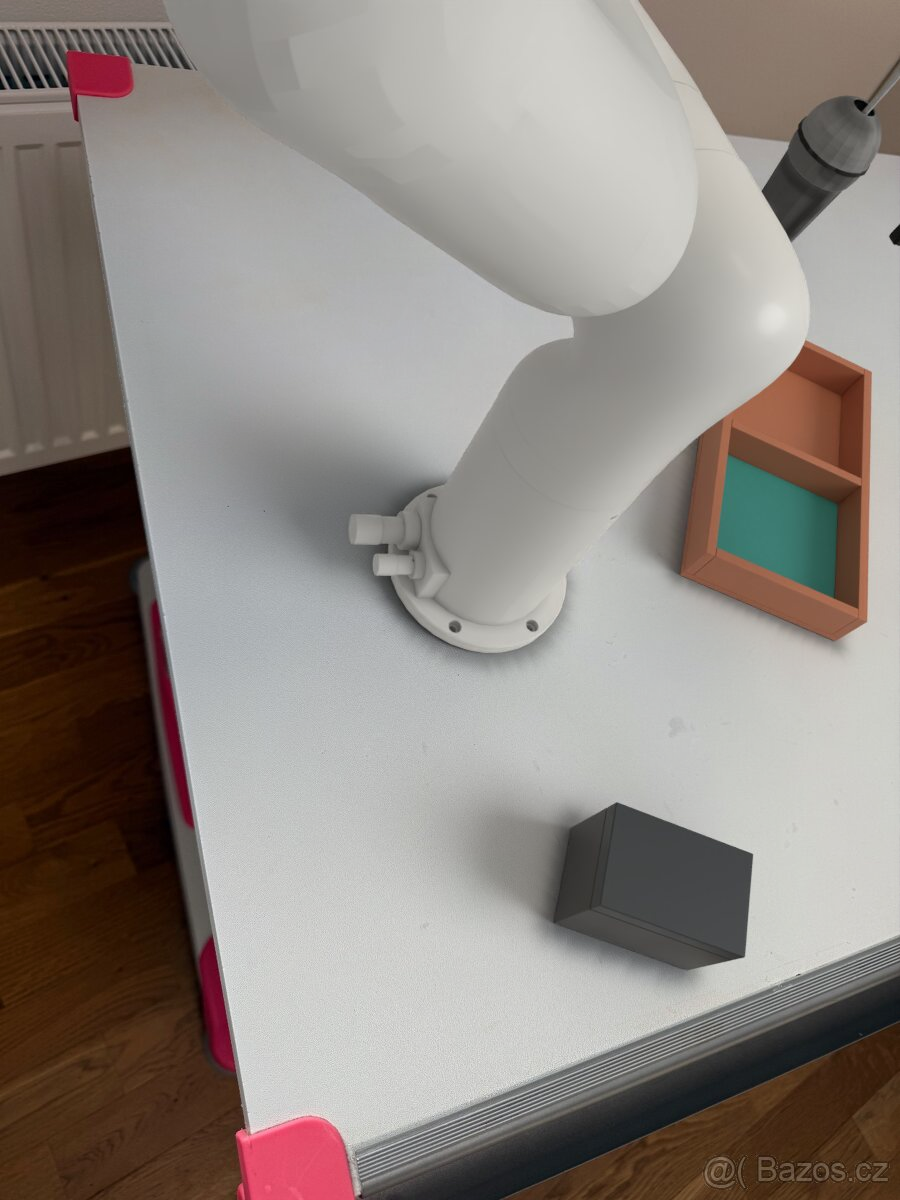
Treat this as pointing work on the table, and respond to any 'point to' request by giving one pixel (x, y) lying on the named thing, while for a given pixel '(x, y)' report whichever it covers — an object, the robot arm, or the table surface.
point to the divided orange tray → (789, 497)
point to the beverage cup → (824, 158)
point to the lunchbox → (656, 888)
